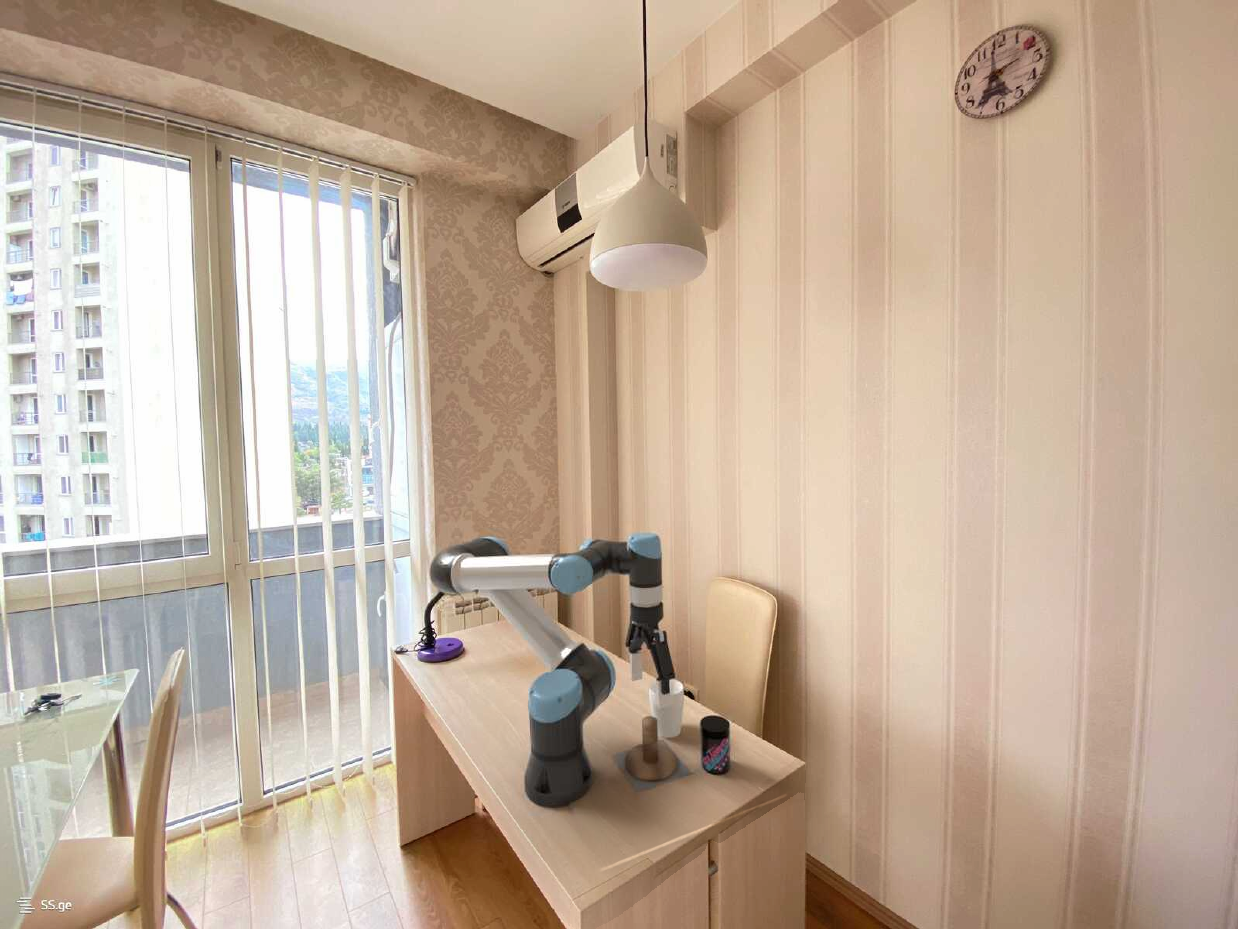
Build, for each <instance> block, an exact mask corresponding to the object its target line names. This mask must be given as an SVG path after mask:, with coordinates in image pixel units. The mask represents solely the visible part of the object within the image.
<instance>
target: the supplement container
mask: <svg viewBox="0 0 1238 929" xmlns="http://www.w3.org/2000/svg"><path fill="white" fill-rule="evenodd" d="M699 726H700V727H699V731H700V763H701V764H700V765H701V767H702V769H703V771H705V772H706V773H708V774H710V775H716V776H721V775H725V774H727V773H728V772H729V771H730V769H731V724H730V721H729V720H728V719H726V718H725V717H723V716H720V715H712V714H711V715H707V716H704V717H702V718H701V720H700V721H699Z"/></svg>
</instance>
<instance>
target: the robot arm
mask: <svg viewBox="0 0 1238 929" xmlns="http://www.w3.org/2000/svg"><path fill="white" fill-rule="evenodd" d="M661 543H662V542H661V537H660V535H658V534H657V533H652V532H635V533H632V534H629V535H628V538H627V541H618V540H605V539H599V538H598V539H587V540H585V541H584V542H582V545H581V546H580V547H579V550H578V551H575V552H571V553H570V552H568V553H566V552H565V553H564V552H563V553H544V554H543V553H541V554H517V555H516V554H514V555H510V554H511V552H510V550H509V548H508V546H507V545H506V544H505V543H504V541H502V540H500V539H499V538H497V537H494V536H484V537H477V538H473V539H472V540H470V541H467V542H463V543H459V544H456V545H452V546H449V547H445V548H444V549H442V550H441V551H440V552H438V553H436V555H435V556H434V558H432V562H431V563H430V567H429V579H430V581H431V583H432V585H433V586H434V587H435V588H436V589H437V591H440V592H441V593H442V594H447V595H467V594H470V593H472V592H474V593H475V594H476V595H477V597H478V598H487V599H488V600H489V601H490V602H491V603H492V604H493V605H494V606H495V608H496V609H497V610H498V611H499V612H500V613H501V614H502V616H503V617H504V619H506V620H507V621H508V623H509V624H510V625H511V626H512V627H513V628H514V629H515V631H516V632H517V633H518V635H519V636H521V637H522V639H523V640H524V641H525V642H526V643H527V644H528V646H529V647H530V648H531V649H532V650H533V651H534V653H535V654H536V655H537V656H538V657H539V659H541V661H542V662H543V663H544V664H545V665H546V667H547V668H548V671H546V672H544V673H542V674H541V675H540V676H538V677H537V678H536V679H535V680H534V681H533V682H532V683H531V686H530V687H529V690H528V691H529V692H528V702H527V707H528V715H529V735H530V737H529V739H530V755H529V758H528V761H527V765H526V769H525V772H524V777H523V779H524V780H523V781H524V783H523V784H524V792H525V794H526V796H527V798H528V799H529V800H531V802H533V803H534V804H537V805H538V806H543V807H548V808H558V807H566V806H568V805H569V806H570V805H571V804H573V803H575V802H577V801H578V800H580V799H583V797H584V796H586V794H587V793H588V792H589V791H590V789H591V787H592V785H593V780H594V778H593V777H594V776H593V775H594V774H593V766H592V764H591V761H590V759H589V756H588V753H587V751H586V748H585V746H584V745H585V744H584V724H585V722H586V720H588V718H589V717H590V716H591V715H592V714H593V713H594V712H595V711H596V710H597V709H598V708H599V707H600V706H601V705H602V704H603V703H604V702H606V700H607V699H608V698H609V696H610V694H611V693H612V692H613V690H614V688H615V686H616V683H617V682H616V680H617V679H616V669H615V665H614V663H613V661H612V659H611V658H610V656H608V655H607V653H605V652H603V651H601V650H599V649H598V650H597V649H589V648H588V646H587V645H586V644H585V643H584V642H583V641H574V640H573V639H572V638H571V637H570V636H569V635H568V634H567V632H566V631H565V630H563V628H562V627H561V626H560V625H559V624H558V622H557V621H556V620H555V619H554V618H553V617H552V616H551V615H550V614H549V613H548V611H546V609H545V608H544V607H543V606H542V605H541V604H540V603H539V602H538V601H537V599H536V598H535V597H534V596H533V595H532V594H531V593H530V592H529V591H528V590H557V591H558V592H560V593H561V594H564V595H573V594H576V593H579V592H582V591H583V590H585V589H587V588H588V587H589V586H591V585H592V584H593V583H595V582H598V581H599V580H601V579H603V578H604V577H606V576H607V575H610V574H612V575H623V576H628V581H629V583H628V590H629V591H628V592H629V601H630V604H629V608H630V609H629V610H630V611H629V612H630V614H629V625H628V629H627V635H626V639H625V643H624V644H625V648H628V652H629V653H630V654H629V658H630V661H629V662H630V680H631V682H635V681H639V680H643V660H642V659H643V658H642V657H643V655H642V651H643V648H642V646H643V644H644V643H645V645H646V648H647V650H649V651H650V654H651V657H652V660H653V663H654V666H655V669H656V673H657V677H656V679H655V680H657V703H658V708H659V709H660V708H664V707H667V706H670V683H669V680H671V679H674V680H676V672H675V670H674V666H673V665H674V664H673V660H672V655H671V652H670V648H669V643H668V636H667V635H668V634H667V633H668V632H666V630H660V628H659V623H660V622H661V621H662V620H663V619H664V603H663V600H664V598H663V597H664V596H663V592H664V591H663V588H664V585H663V559H662V558H663V552H662V544H661Z"/></svg>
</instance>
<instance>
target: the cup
mask: <svg viewBox="0 0 1238 929" xmlns="http://www.w3.org/2000/svg"><path fill="white" fill-rule="evenodd" d="M669 683H670V706H667V707H664V708H660V709H659V708H658V703H657V680H656V679H655V680H653V681H651V683H650V684H649V687H648V689H649V690H648V692H649V694H648V701H649V706H650V712H651V716H652V717H655V718H656V719H657V722H658V737H660V738H663V739H664V738H665V739H672V738H676V737H678V736H679V735H680V733H681V730H682V729H681V728H682V721H683V714H684V712H683V711H684V706H685V705H684V704H685V693H684V691H685V690H684V684H683V683H681V681H679V680H677V679H671V680H669Z"/></svg>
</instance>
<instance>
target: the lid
mask: <svg viewBox="0 0 1238 929" xmlns="http://www.w3.org/2000/svg"><path fill="white" fill-rule="evenodd" d="M641 733H642V734H641V736H642V741H641V742H642V743H641V744H638V745H636V746H634V747H632V748H631V749H630V748H629V749H628V750H629V751H628V753H627V754H626V756H625V768H626V770H627V772H628V773H629V774H630V775H631V776H632V777H634V778H636V779H638V780H641V781H646V782H657V781H661V780H664V779H667V778H669V777H670V776H671V775H672V774H673V773H674V772H675V770H676V768H677V758H676V755H677V754H676V752H675V751H674V750H673V749H672V748H671V749H672V750H673V751H674V752H673V751H672V750H671V749H669V748H668V747H666V746H663V745H660V744H658V741H659V736H658V722H657V719H656V718H655V717H652V715H647V716H644V717H643V718H642V719H641ZM675 754H676V755H675Z"/></svg>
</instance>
